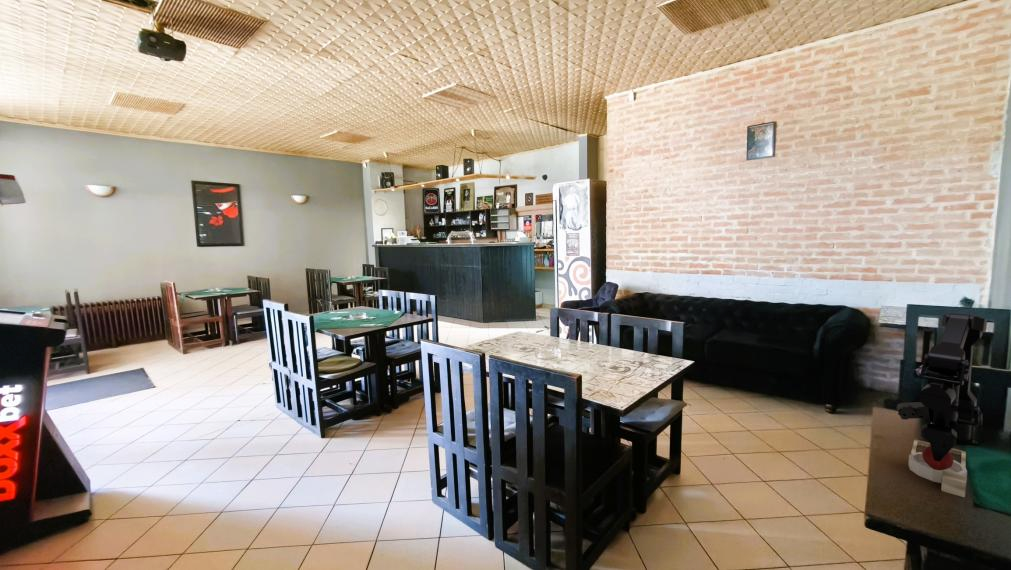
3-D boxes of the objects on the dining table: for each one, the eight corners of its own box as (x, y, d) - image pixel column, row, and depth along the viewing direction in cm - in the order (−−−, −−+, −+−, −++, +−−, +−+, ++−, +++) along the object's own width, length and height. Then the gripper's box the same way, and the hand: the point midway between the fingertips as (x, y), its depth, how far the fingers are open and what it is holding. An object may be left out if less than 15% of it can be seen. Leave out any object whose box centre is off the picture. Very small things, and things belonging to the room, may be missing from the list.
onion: (958, 477, 109) (961, 449, 108) (932, 476, 110) (935, 448, 109) (940, 464, 115) (943, 437, 113) (915, 463, 116) (918, 436, 115)
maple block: (941, 484, 108) (942, 469, 108) (964, 490, 105) (965, 475, 105) (941, 491, 105) (942, 476, 105) (964, 497, 103) (966, 482, 102)
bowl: (941, 462, 117) (941, 452, 117) (977, 485, 107) (978, 474, 106) (898, 461, 119) (899, 451, 118) (931, 484, 108) (931, 473, 108)
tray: (914, 442, 128) (914, 439, 127) (965, 455, 120) (965, 451, 120) (910, 456, 121) (911, 452, 120) (965, 470, 113) (965, 466, 113)
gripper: (903, 381, 122) (900, 431, 124) (896, 401, 110) (892, 457, 112) (960, 391, 114) (955, 444, 116) (958, 413, 101) (953, 473, 103)
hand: (937, 454), depth 112 cm, fingers open, 9 cm apart
